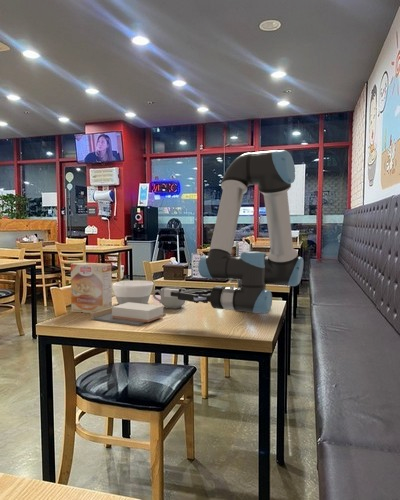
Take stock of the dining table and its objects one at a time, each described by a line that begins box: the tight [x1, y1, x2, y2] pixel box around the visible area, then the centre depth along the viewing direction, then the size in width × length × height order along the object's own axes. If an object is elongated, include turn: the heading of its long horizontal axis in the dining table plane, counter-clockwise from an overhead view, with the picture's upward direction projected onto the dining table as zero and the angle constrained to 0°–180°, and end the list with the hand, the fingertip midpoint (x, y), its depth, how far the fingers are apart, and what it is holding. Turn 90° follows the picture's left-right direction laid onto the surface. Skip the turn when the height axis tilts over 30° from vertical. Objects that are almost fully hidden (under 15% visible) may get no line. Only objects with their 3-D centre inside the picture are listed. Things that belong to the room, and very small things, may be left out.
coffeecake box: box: [70, 262, 113, 314], centre depth 161 cm, size 15×7×20 cm, turn 70°
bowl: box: [112, 280, 155, 305], centre depth 176 cm, size 18×18×9 cm
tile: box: [112, 302, 164, 323], centre depth 149 cm, size 4×10×16 cm
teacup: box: [152, 286, 187, 310], centre depth 169 cm, size 14×11×8 cm
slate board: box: [90, 306, 166, 327], centre depth 151 cm, size 21×18×2 cm
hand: (165, 292), depth 144 cm, fingers closed
